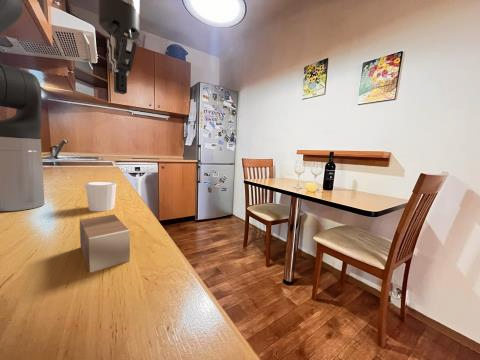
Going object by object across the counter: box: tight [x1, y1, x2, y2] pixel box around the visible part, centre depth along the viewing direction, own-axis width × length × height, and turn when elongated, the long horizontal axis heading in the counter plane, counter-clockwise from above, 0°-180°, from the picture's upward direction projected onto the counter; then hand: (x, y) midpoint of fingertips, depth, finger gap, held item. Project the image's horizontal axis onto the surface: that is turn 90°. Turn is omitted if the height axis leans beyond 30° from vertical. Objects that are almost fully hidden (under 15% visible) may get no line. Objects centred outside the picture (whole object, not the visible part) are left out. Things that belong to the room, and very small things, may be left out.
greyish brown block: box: [79, 213, 131, 273], centre depth 32 cm, size 5×5×9 cm
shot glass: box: [84, 180, 117, 213], centre depth 54 cm, size 7×7×7 cm
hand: (120, 93), depth 45 cm, fingers closed
